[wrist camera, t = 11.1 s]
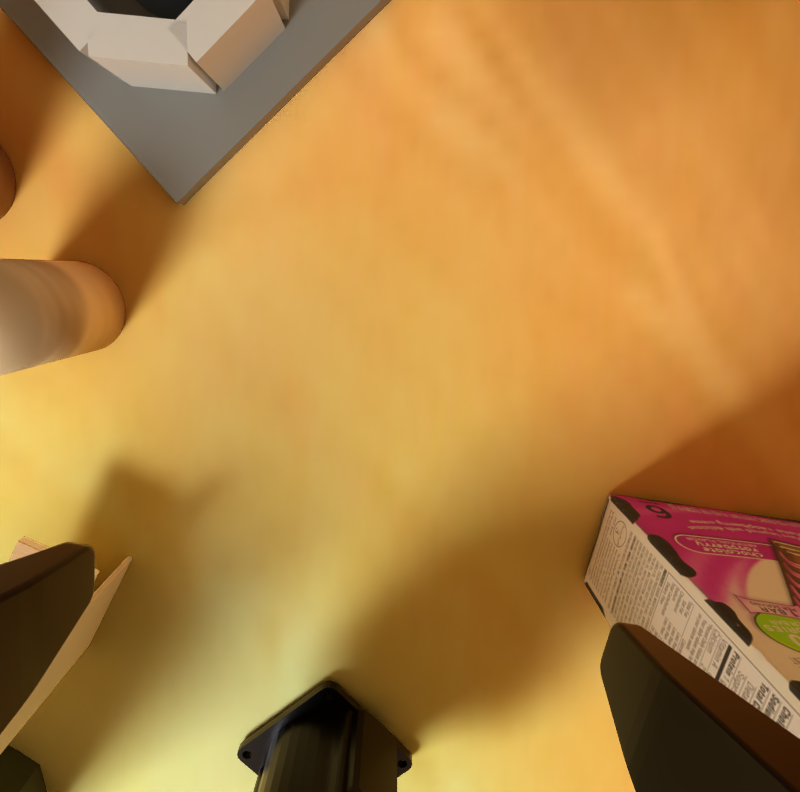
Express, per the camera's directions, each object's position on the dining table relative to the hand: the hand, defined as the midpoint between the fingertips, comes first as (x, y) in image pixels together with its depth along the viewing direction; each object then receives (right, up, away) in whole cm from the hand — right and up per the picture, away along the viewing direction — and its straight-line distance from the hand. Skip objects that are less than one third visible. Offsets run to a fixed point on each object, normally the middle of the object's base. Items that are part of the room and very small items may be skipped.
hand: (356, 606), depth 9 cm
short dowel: (-12, +7, +12) cm, 18 cm away
